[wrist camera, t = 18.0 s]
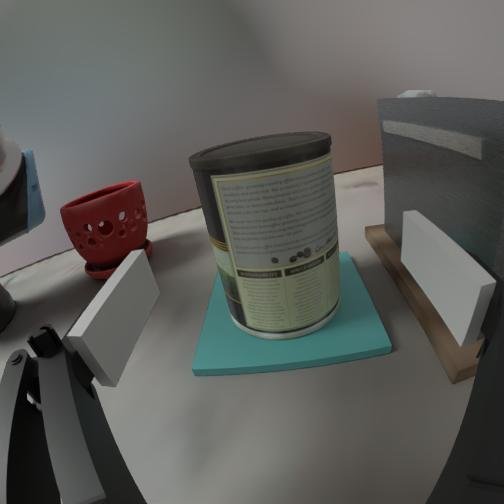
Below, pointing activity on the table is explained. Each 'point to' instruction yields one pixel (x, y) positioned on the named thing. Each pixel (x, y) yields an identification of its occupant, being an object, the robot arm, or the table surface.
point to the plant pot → (108, 227)
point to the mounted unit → (442, 196)
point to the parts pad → (296, 349)
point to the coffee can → (273, 230)
